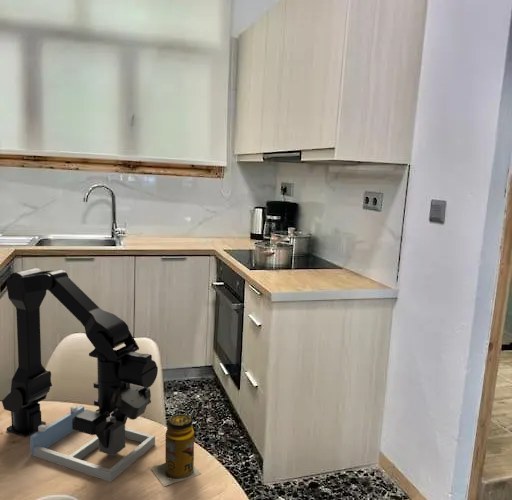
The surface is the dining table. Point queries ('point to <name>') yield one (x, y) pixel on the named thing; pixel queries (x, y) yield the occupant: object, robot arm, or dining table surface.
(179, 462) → the condiment
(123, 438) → the grey cube with knob
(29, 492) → the dining table surface
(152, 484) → the dining table surface
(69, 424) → the organiser
